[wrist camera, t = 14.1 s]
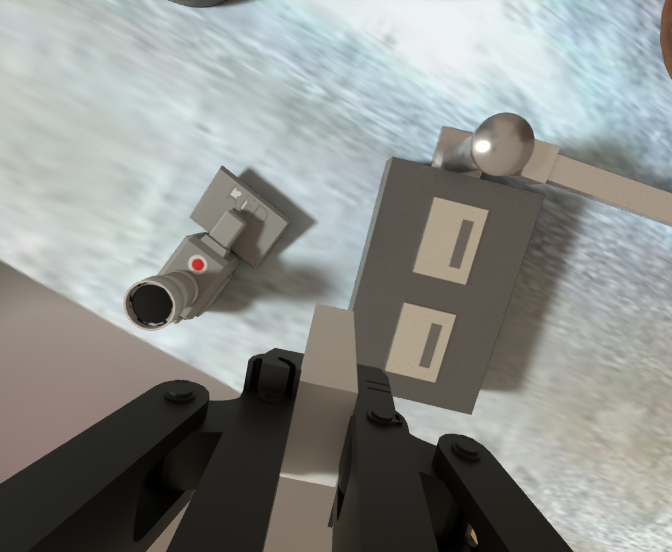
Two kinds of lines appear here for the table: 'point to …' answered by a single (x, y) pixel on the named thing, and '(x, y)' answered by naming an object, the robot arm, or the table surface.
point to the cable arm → (595, 184)
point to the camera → (207, 254)
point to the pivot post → (486, 147)
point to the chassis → (438, 279)
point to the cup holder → (667, 35)
